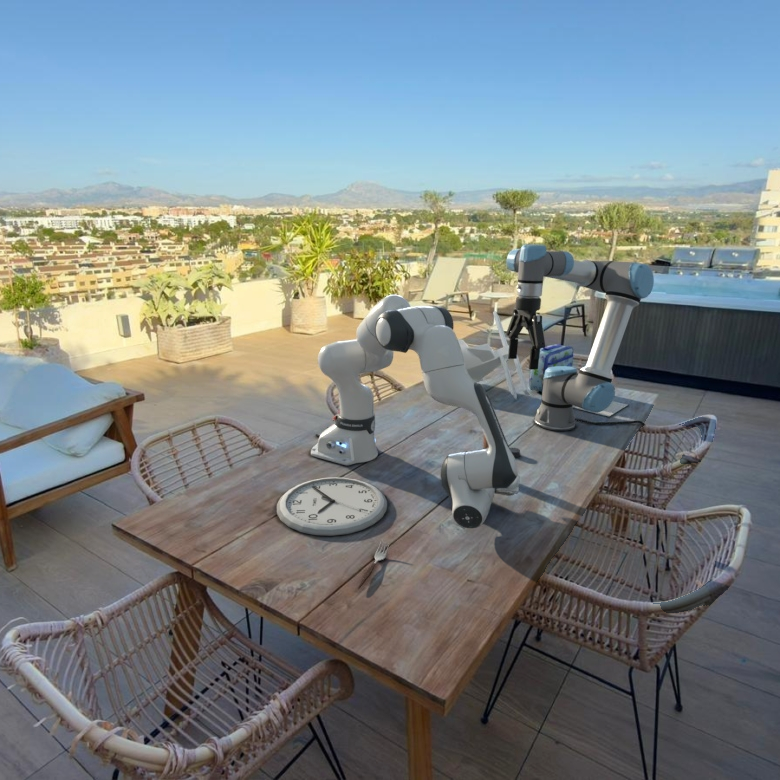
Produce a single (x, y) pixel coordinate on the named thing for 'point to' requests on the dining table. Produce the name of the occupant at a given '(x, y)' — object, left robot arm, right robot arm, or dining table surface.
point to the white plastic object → (491, 360)
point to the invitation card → (609, 409)
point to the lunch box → (549, 363)
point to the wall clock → (331, 506)
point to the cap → (515, 452)
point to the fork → (378, 557)
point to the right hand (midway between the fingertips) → (522, 363)
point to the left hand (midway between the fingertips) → (486, 467)
